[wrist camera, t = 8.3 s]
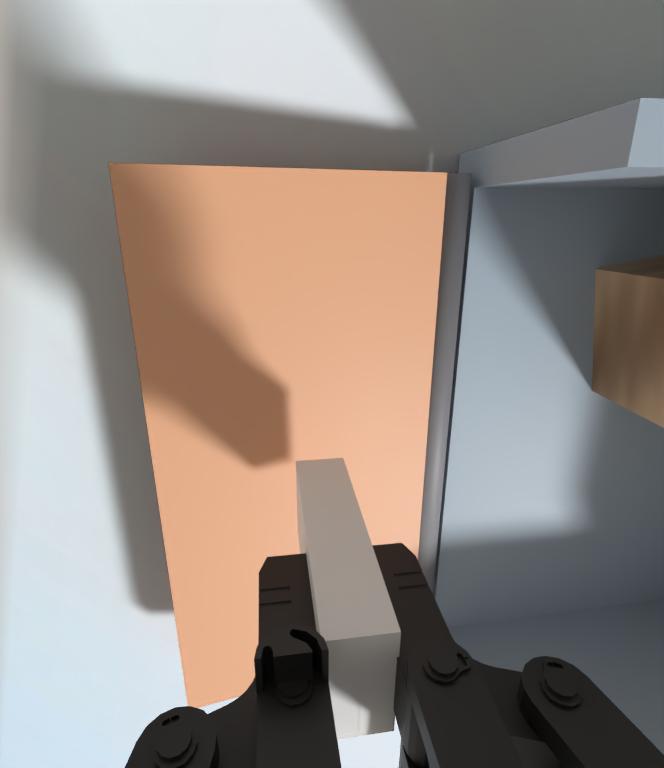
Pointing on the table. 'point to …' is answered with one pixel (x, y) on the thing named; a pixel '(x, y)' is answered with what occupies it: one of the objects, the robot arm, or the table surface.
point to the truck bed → (555, 415)
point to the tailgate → (286, 369)
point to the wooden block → (630, 336)
